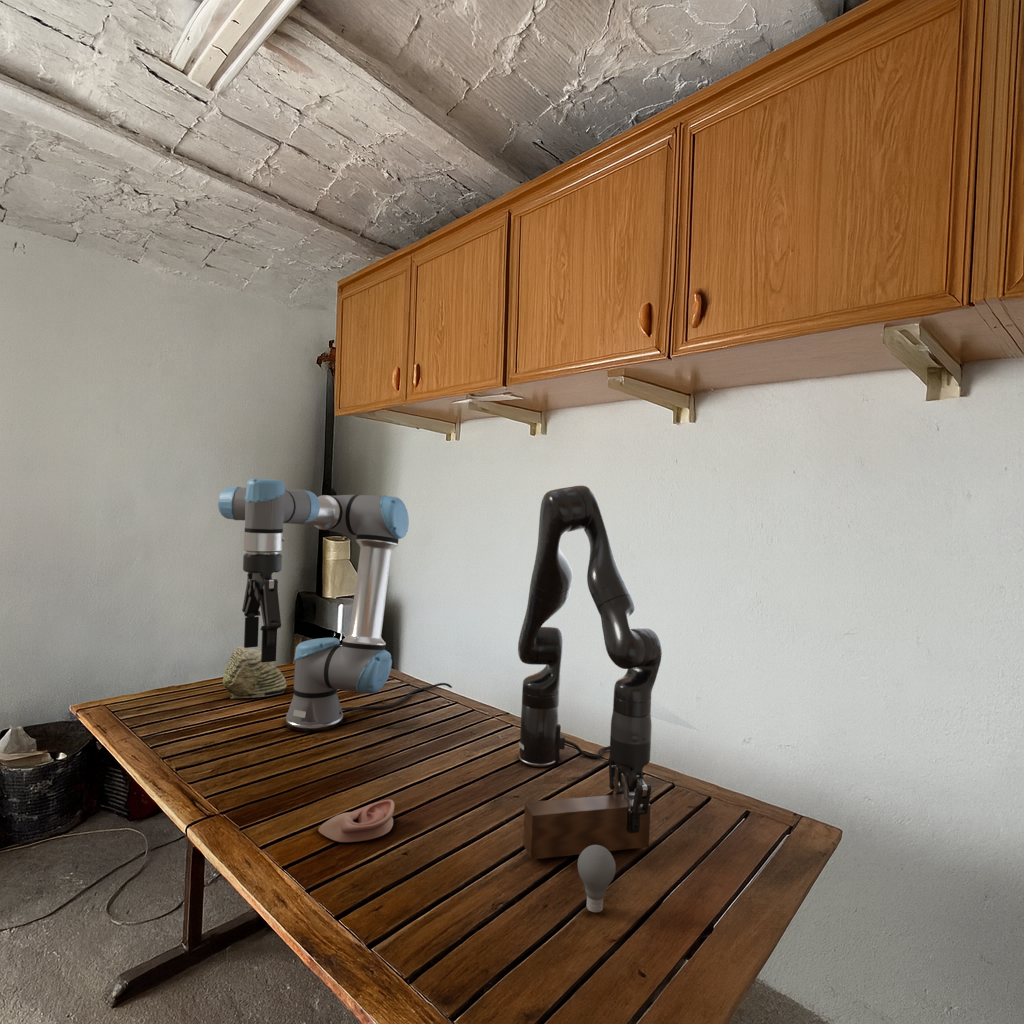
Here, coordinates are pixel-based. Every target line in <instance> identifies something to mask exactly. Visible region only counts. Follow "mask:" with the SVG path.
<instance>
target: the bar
mask: <svg viewBox="0 0 1024 1024" xmlns="http://www.w3.org/2000/svg"><path fill="white" fill-rule="evenodd" d="M629 794H630V795H631V794H635V792H629ZM633 802H634V799H633V800H632V806H633ZM642 806H643V804H642ZM651 807H652V805H651V803H649V806H648V811H647V814H641V815H640V829H639V832H638V833H629V832H628V831H627V819H628V807H627V800H626V799H625V798H624V794H618V795H613V794H607V795H606V794H605V795H596V796H595V795H594V796H584V797H571V798H559V799H547V800H536V801H526V802H524V815H523V816H524V817H523V837H522V845H523V847H524V849H525V851H526V853H527V855H528V858H529V860H531V861H533V860H540V859H549V858H559V857H567V856H568V857H570V856H577V855H580V854H581V852H582V851H583V850H584V849H585V848H587V847H588V846H591V845H600V846H603V847H605V848H606V849H607V850H608V851H609V852H615V851H623V850H632V849H634V850H635V849H642V848H643V849H644V848H649V847H650V829H651V828H650V827H651V809H652V808H651Z"/></svg>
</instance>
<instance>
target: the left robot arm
mask: <svg viewBox="0 0 1024 1024" xmlns="http://www.w3.org/2000/svg"><path fill="white" fill-rule="evenodd" d="M217 508H218V511H219V513H220V515H221V516H222V517H224V518H225V519H227V520H233V521H244V531H243V549H242V551H244V552H246V553H244V554H243V558H242V570H243V572H245V573H247V576H246V577H247V579H246V588H245V592H244V598H243V604H242V609H241V611H242V613H243V616H244V631H243V632H244V634H243V635H244V637H243V647H244V648H250V649H251V648H259V629H260V631H261V662H262V663H263V662H272V661H274V662H277V645H278V644H277V643H278V642H277V641H278V629H280V628H282V619H281V609H280V601H279V600H280V599H279V590H278V589H279V587H278V586H279V585H278V584H279V580H278V579H277V578H274V579H273V574H275V573H279V572H281V571H282V568H283V567H282V566H283V555H282V553H280V552H282V551H283V542H285V540H286V537H285V536H283V533H284V524H290V525H291V524H292V525H305V526H313V527H315V528H316V529H319V530H324V531H331V532H334V533H339V534H342V535H343V534H344V535H350V536H356V538H355V542H356V543H357V544H358V546H359V548H360V549H359V557H358V565H357V572H356V581H355V588H354V595H353V603H352V609H351V610H352V611H351V617H350V626H349V632H348V635H346V637H345V638H343V639H342V643H340V642H341V641H340V639H339V638H337V637H321V638H319V637H318V638H313V639H307V640H304V641H302V642H299V643H298V644H297V645H296V647H295V652H294V653H295V654H294V659H293V660H294V672H293V695H292V696H293V697H292V699H291V702H290V704H289V708H288V711H287V713H286V715H285V726H286V728H287V729H289V730H291V731H294V732H295V731H296V732H301V733H316V732H325V731H329V730H332V729H335V728H337V727H339V726H340V725H342V723H343V722H344V713H343V711H356V710H358V711H360V710H376V709H387V708H392V707H395V706H397V705H399V704H401V703H402V702H404V701H406V700H407V699H408V698H409V697H410V696H411V695H412V694H415V693H417V692H421V691H425V690H429V689H432V688H436V687H440V686H445V687H448V688H450V689H452V688H453V686H452V685H451V684H450V683H447V682H440V683H439V682H438V683H436V684H435V683H434V684H432V685H427V686H423V687H419V688H416V689H414V690H412V691H409V692H408V693H407V694H406V695H405V696H404V697H403V698H401V699H399V700H397V701H396V702H394V703H390V704H385V705H369V706H368V705H367V706H350V707H349V706H348V707H347V706H346V707H342V706H341V702H340V699H339V695H338V690H339V691H347V692H354V693H357V694H369V695H370V694H371V695H372V694H376V693H378V692H379V691H380V690H382V689H383V687H384V686H385V684H386V683H387V682H388V679H389V677H390V674H391V670H392V665H393V659H392V655H391V653H390V652H389V651H387V649H386V644H387V643H386V641H384V639H383V637H382V631H383V624H384V616H385V608H386V601H387V599H386V598H387V592H388V583H389V575H390V567H391V559H392V553H393V550H395V549H396V548H397V547H399V540H401V539H403V538H405V537H406V535H407V533H408V531H409V527H410V525H409V523H410V522H409V521H410V520H409V518H410V517H409V512H408V509H407V506H406V504H405V503H404V501H403V500H402V499H401V498H400V497H397V496H391V495H377V494H376V495H374V494H373V495H372V494H369V495H368V494H341V495H340V494H339V495H327V494H322V495H318V496H317V495H316V493H314V492H312V491H311V490H305V489H287V488H285V481H283V480H282V479H273V478H250V479H248V480H247V482H246V487H242V486H235V487H226V488H224V489H223V490H222V491H221V492H220V494H219V497H218V502H217ZM260 616H261V618H262V623H263V625H261V627H260V628H259V625H260ZM340 644H341V645H340Z"/></svg>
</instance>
